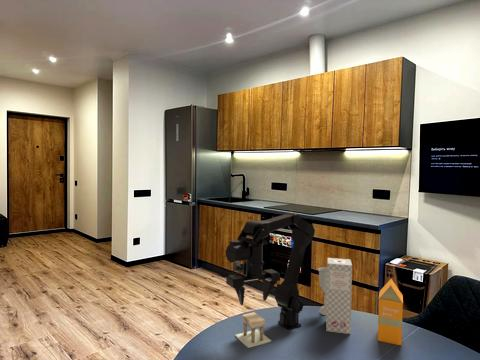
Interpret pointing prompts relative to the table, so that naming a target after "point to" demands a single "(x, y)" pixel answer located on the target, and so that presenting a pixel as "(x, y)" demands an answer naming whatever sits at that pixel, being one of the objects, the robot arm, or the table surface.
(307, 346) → the table surface
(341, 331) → the box
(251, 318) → the tan block with pegs
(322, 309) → the chalice
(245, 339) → the mat
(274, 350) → the table surface
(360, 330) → the table surface
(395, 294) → the orange juice
